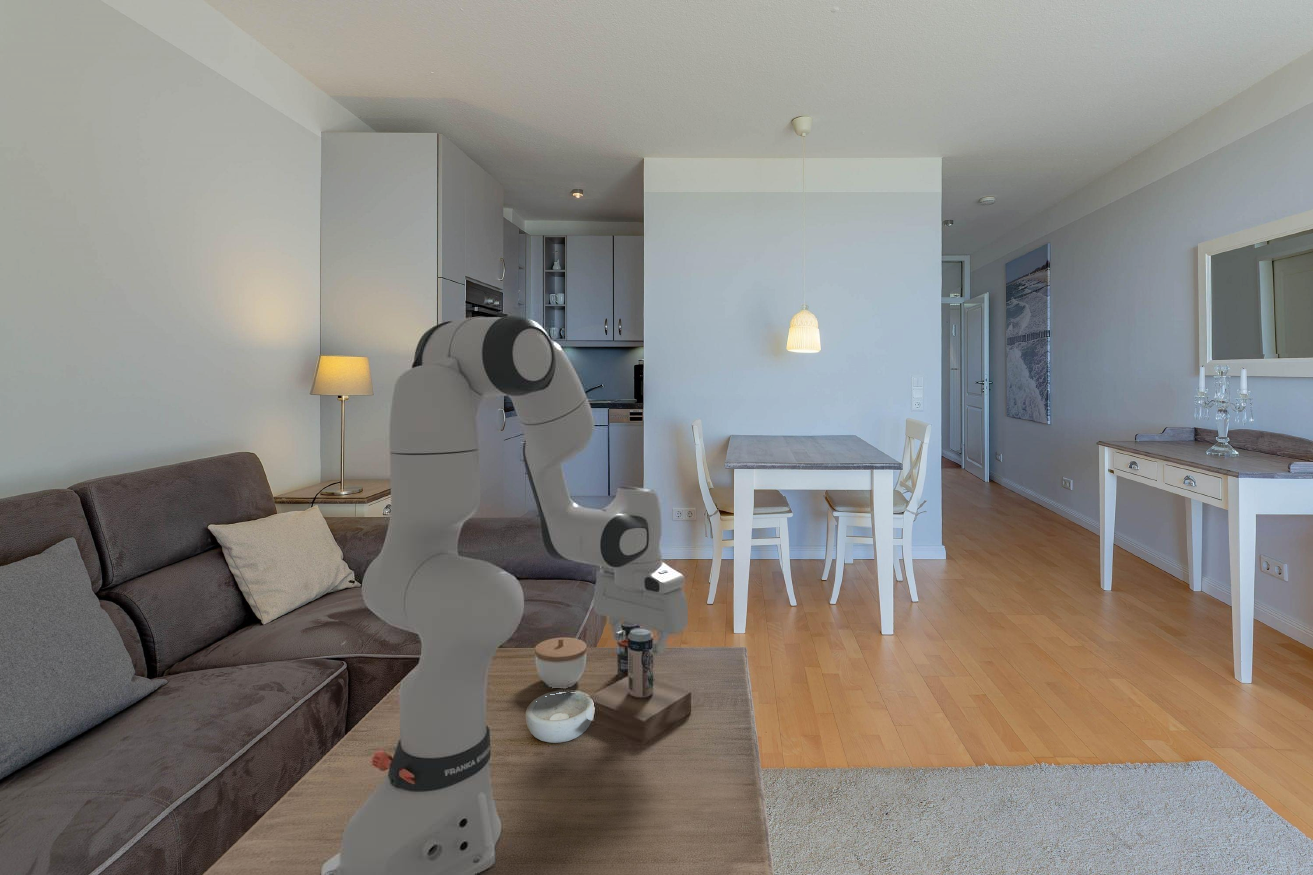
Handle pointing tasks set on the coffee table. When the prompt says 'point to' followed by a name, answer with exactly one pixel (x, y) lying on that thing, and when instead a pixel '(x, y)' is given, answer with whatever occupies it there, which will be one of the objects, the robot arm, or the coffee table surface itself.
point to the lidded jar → (560, 661)
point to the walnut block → (640, 709)
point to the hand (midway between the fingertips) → (638, 646)
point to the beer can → (640, 663)
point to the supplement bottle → (624, 649)
